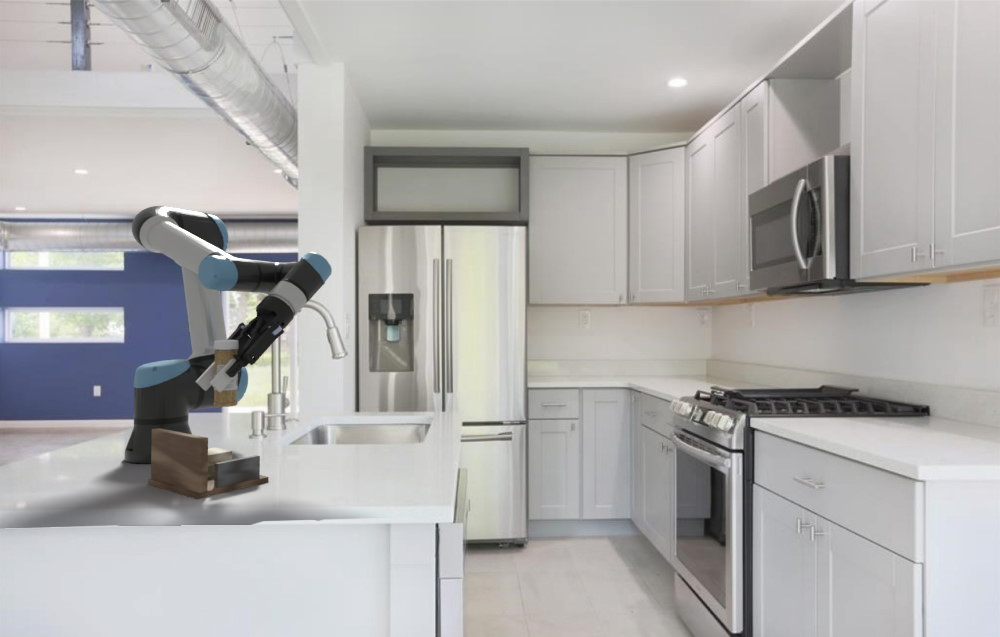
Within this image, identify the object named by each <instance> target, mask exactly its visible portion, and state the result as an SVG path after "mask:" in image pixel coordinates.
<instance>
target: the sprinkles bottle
mask: <svg viewBox="0 0 1000 637" xmlns="http://www.w3.org/2000/svg"><path fill="white" fill-rule="evenodd" d="M214 349H215V369H214V377H215V376H216V375H217V374H218V373H219V372H220V371H221V370H222V369H223V367H224V366H225V365H226V364H227V363H228V362H229V361H230V360H231V359H235V358H234V357H233V355H235V354H237V352H238V350H237V349H239V343H238V340H215V341H214ZM235 361H236V359H235ZM237 388H238V373H237V374H236V375H235V377H234V378H233V379H232V380H231V381H230V382H229V383H228V385H227V386H226V387H225V388H224V389H223V390H222V391H221V392H218V391H217V390H216V389H215V388H214V406H216V407H215V408H218V407H221V408H224V407H225V408H226V407H227V408H229V407H236V406H237V405H238V404H239V402H237Z"/></svg>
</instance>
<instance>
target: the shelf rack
mask: <svg viewBox="0 0 1000 637" xmlns="http://www.w3.org/2000/svg"><path fill="white" fill-rule="evenodd" d="M150 464H151V465H150V478H148V479H147V480H148V485H149V486H152V487H156V488H160V489H163V490H165V491H169V492H172V493H176V494H179V495H183V496H186V497H189V498H193V499H196V500H198V499H203V498H207V497H212V496H216V495H219V494H223V493H228V492H231V491H232V492H233V491H235V490H240V489H243V488H248V487H251V486H252V487H253V486H257V485H260V484H265V483H269V476H266V475H262V474H260V473H261V471H260V468H261V457H260V455H258V454H256V455H250V456H244V457H240V458H234V459H233V450H231V449H225V448H221V447H215V446H214V447H209V437H207V436H200V435H195V434H192V435H191V434H186V433H181V432H176V431H171V430H166V429H161V428H158V429H152V445H151V463H150Z"/></svg>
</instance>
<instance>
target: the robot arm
mask: <svg viewBox="0 0 1000 637" xmlns="http://www.w3.org/2000/svg"><path fill="white" fill-rule="evenodd" d="M131 234H132V237H133V238H134V240H135V241H136V243H138V244H139V245H140V246H141V247H142V248H145V250H147V251H149V252H151V253H157V254H162V255H164V256H166V257H168V258H170V259H171V260H173V262H174V263H176V264H177V265H178V266H180V267H181V274H182V281H183V288H184V289H183V290H184V296H185V306H186V312H187V319H188V327H189V334H190V343H191V344H190V345H191V349H192V350H191V352H192V353H191V355H190V356H189V357H188V358H187V359H185V358H184V359H183V358H182V359H181V358H180V359H179V358H177V359H170V360H167V359H165V360H158V361H153V362H147V363H144V364H142V365H140V366H138V367H137V368H136V369H135V372H134V378H133V386H132V387H133V426H132V427H133V428H132V430H131V434H130V436H129V439H128V441H127V443H126V447H125V449H124V461H125V462H127V463H132V464H151V445H152V429H158V428H161V429H166V430H171V431H176V432H181V433H186V434H191V435H193V432H192V430H191V427H190V425H189V424H190V423H189V413H190V412H189V411H195V410H196V411H197V410H205V409H212V408H220V409H221V408H222V407H216V406H214V388H215V389H216V390H217V391H218V392H221V391H222V390H223V389H224V388H225V387H226V386H227V385H228V383H229V382H230V381H231V380H232V379H233V378H234V377H235V375H236V374H237V373H238V388H237V403H239V402H240V401H241V400H242V399H243V398H244V395H245V394H246V392H247V389H248V384H249V373H248V370H247V366H248V365H250V366H252V365H254V364H256V362H257V361H258V360H259V359H260V358H261V356H262V355H264V353H265V352H266V351H267V350H268V349H269V348H270V346H272V345H273V344H274V342H275V341H276V340H277V339H278V338H279V337H281V336H282V335H283V334H284V333H285V330H284V329H286V328H287V327H288V326H289V324H290V323H291V322H292V321H293V320H294V318H295V316H297V314H299V313H301V312H302V310H303V308H304V306H306V305H307V303H308V302H309V301H310V300H311V299H312V298H313V297H314V296H315V294H317V292H318V291H319V290H320V289H321V288H322V287H323V286H324V285H325V284H326V281H327V280H328V279H329V278H330V276H331V275H332V266H331V264H330V263H329V261H328V259H327V258H325V256H323V255H322V254H319V253H318V252H314V251H310V252H307V253H306V254H304V256H301V258H300V259H299V260H298V261H290V262H276V261H275V262H274V261H266V260H257V259H249V258H239V257H236V256H233V255H231V254H229V253H227V252H226V251H227V249H228V245H227V244H229V232H228V229H227V227H226V224H225V223H224V221H223V220H222V219H221V218H220V217H218V216H216V215H213V214H210V213H209V214H208V213H207V212H204V211H193V210H187V209H182V208H175V207H170V206H165V205H154V206H149V207H146V208H144V209H142V210H140V211H139V212H138V213H137V214H136V215H135V217H134V218H133V220H132V224H131ZM221 292H240V293H242V292H243V293H244V292H245V293H255V294H266V295H267V296H265V297H264V298H263V299H262V300H261V301H260V302H259V303H258V304H257V305H256V307H255V311H256V317H254V318H252V319H251V320H250V321H249V322H248V324H245V323H244V322H241V323H239V324H238V326H237V327H236V328H235V330H234V331H233V332H232V333H231V335H230V336H228V337H227V330H226V323H225V317H224V310H223V303H222V302H223V301H222V295H221ZM215 340H238V343H239V349H237V350H238V352H237V354H235V355H233V357H234V358H235V359H236V361H235V359H231V360H230V361H229V362H228V363H227V364H226V365H225V366H224V367H223V369H222V370H221V371H220V372H219V373H218V374H217V375H216V376H215V377H214V369H215V349H214V341H215Z"/></svg>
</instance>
